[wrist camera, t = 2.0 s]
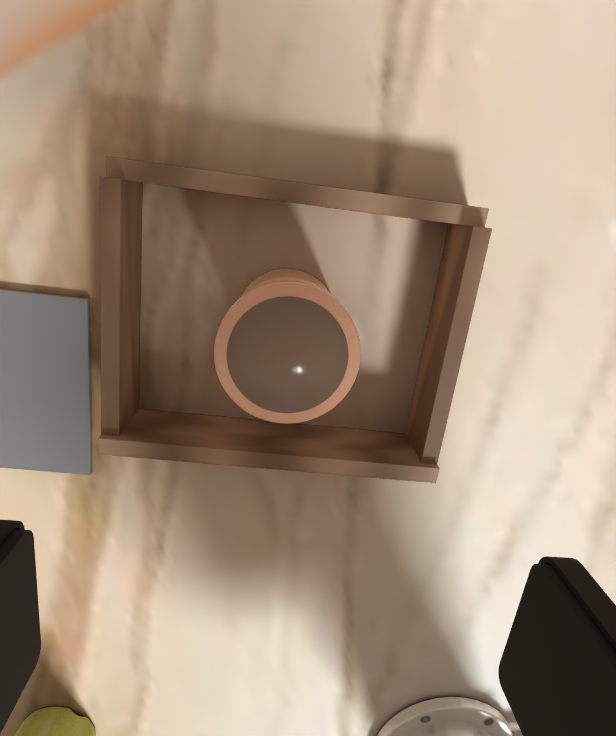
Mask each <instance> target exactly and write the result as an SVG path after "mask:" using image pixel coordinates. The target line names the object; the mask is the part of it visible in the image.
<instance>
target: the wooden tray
mask: <svg viewBox="0 0 616 736" xmlns="http://www.w3.org/2000/svg"><path fill="white" fill-rule="evenodd" d="M143 183H148V184H155V185H163V186H170V187H178V188H186V189H193V190H201V191H208V192H216V193H223V194H231V195H238V196H246V197H253V198H261V199H268V200H276V201H284V202H291V203H299V204H306V205H314V206H321V207H329V208H336V209H344V210H351V211H359V212H366V213H374V214H381V215H389V216H397V217H404V218H412V219H419V220H427V221H434V222H442V223H449V225H448V230H447V235H446V240H445V245H444V250H443V254H442V259H441V264H440V269H439V274H438V279H437V284H436V288H435V293H434V298H433V303H432V308H431V313H430V317H429V322H428V327H427V332H426V337H425V342H424V346H423V351H422V356H421V361H420V366H419V371H418V376H417V380H416V385H415V390H414V395H413V400H412V405H411V409H410V414H409V419H408V424H407V429H406V434H401V433H391V432H380V431H369V430H359V429H348V428H337V427H327V426H316V425H305V424H295V423H276V422H270V421H263V420H252V419H241V418H231V417H220V416H209V415H199V414H188V413H177V412H167V411H156V410H145V409H139V356H140V303H141V250H142V197H143ZM488 210H489V208H481V207H474V206H467V205H459V204H452V203H445V202H437V201H430V200H423V199H415V198H408V197H401V196H393V195H386V194H379V193H371V192H364V191H357V190H349V189H342V188H335V187H327V186H320V185H313V184H306V183H298V182H291V181H284V180H276V179H269V178H262V177H254V176H247V175H240V174H232V173H225V172H218V171H210V170H203V169H196V168H188V167H181V166H174V165H166V164H159V163H152V162H144V161H137V160H130V159H122V158H115V157H108V156H107V177H100V308H101V436H100V437H99V438H98V454H102V455H114V456H126V457H137V458H149V459H161V460H172V461H184V462H196V463H207V464H219V465H231V466H243V467H254V468H266V469H278V470H289V471H301V472H313V473H324V474H336V475H348V476H360V477H371V478H383V479H395V480H406V481H418V482H430V483H436V481H437V477H438V472H439V467H438V465H437V462H438V458H439V453H440V449H441V445H442V441H443V436H444V432H445V428H446V423H447V419H448V415H449V411H450V406H451V402H452V398H453V393H454V389H455V385H456V381H457V376H458V372H459V368H460V363H461V359H462V355H463V351H464V346H465V342H466V338H467V334H468V329H469V325H470V321H471V316H472V312H473V308H474V304H475V299H476V295H477V291H478V286H479V282H480V278H481V274H482V269H483V265H484V261H485V256H486V252H487V248H488V244H489V239H490V235H491V231H492V229H491V228H485V223H486V219H487V215H488Z"/></svg>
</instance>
